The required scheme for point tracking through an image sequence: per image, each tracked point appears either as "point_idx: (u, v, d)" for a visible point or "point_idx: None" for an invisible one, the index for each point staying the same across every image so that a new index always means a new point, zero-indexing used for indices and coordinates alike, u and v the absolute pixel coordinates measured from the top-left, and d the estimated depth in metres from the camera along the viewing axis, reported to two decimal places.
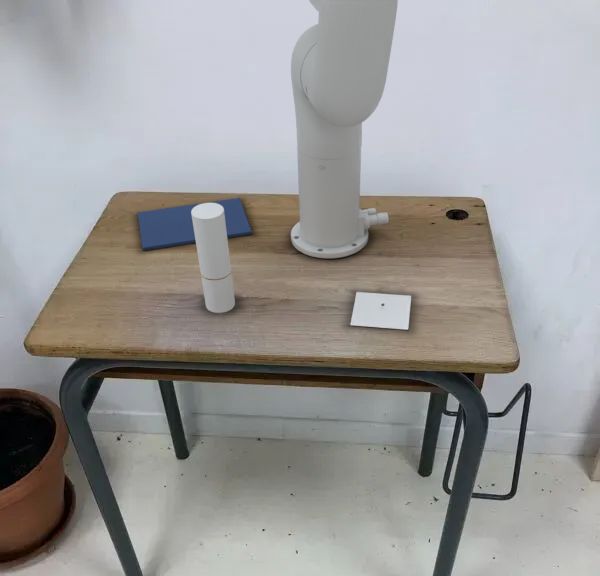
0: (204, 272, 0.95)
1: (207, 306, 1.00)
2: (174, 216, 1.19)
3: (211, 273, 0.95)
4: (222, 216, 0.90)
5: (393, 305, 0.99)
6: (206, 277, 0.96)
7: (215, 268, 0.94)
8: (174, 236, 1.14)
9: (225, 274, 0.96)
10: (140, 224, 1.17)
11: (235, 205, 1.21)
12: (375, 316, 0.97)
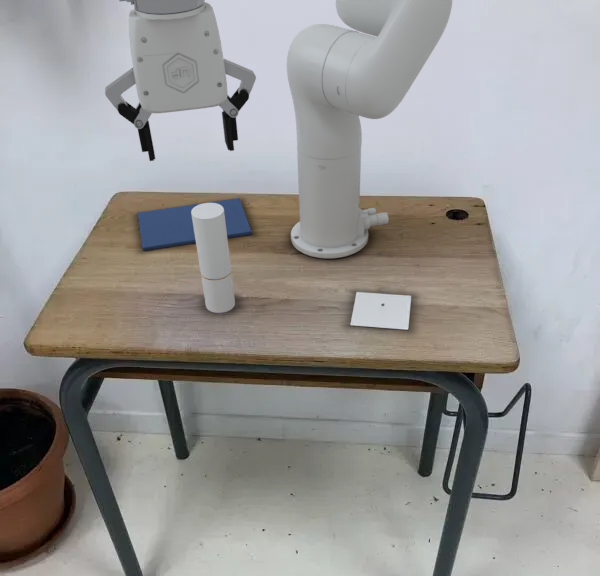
0: (204, 272, 0.95)
1: (207, 306, 1.00)
2: (174, 216, 1.19)
3: (211, 273, 0.95)
4: (222, 216, 0.90)
5: (393, 305, 0.99)
6: (206, 277, 0.96)
7: (215, 268, 0.94)
8: (174, 236, 1.14)
9: (225, 274, 0.96)
10: (140, 224, 1.17)
11: (235, 205, 1.21)
12: (375, 316, 0.97)
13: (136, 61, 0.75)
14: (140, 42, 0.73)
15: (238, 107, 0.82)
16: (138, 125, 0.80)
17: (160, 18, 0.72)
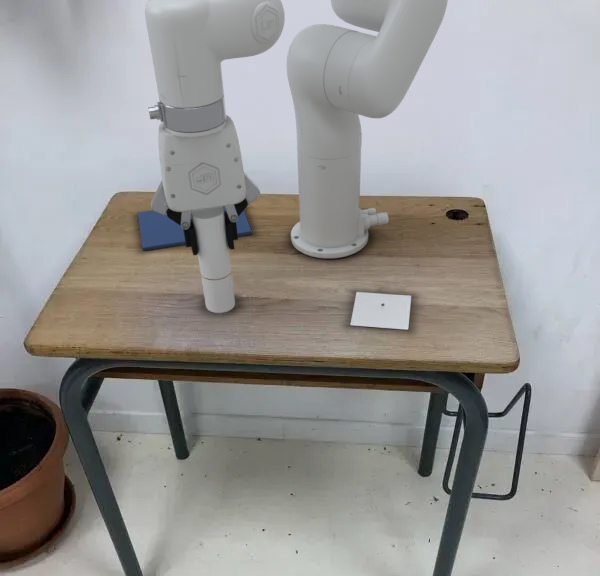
0: (204, 272, 0.95)
1: (207, 306, 1.00)
2: None
3: (211, 273, 0.95)
4: (222, 216, 0.90)
5: (393, 305, 0.99)
6: (206, 277, 0.96)
7: (215, 268, 0.94)
8: (174, 236, 1.14)
9: (225, 274, 0.96)
10: (140, 224, 1.17)
11: None
12: (375, 316, 0.97)
13: (165, 170, 0.83)
14: (169, 154, 0.82)
15: (237, 213, 0.91)
16: (185, 226, 0.90)
17: (187, 136, 0.80)
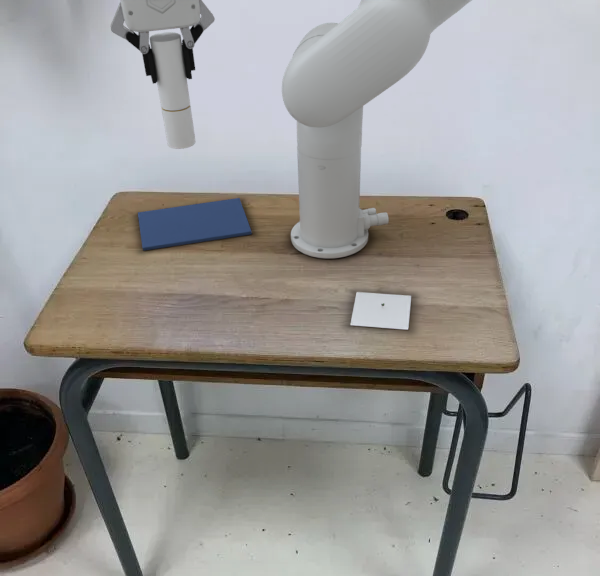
0: (164, 103, 1.00)
1: (168, 143, 1.05)
2: (174, 216, 1.19)
3: (170, 104, 1.00)
4: (179, 42, 0.96)
5: (393, 305, 0.99)
6: (166, 109, 1.01)
7: (174, 98, 0.99)
8: (174, 236, 1.14)
9: (184, 106, 1.01)
10: (140, 224, 1.17)
11: (235, 205, 1.21)
12: (375, 316, 0.97)
13: None
14: None
15: (194, 40, 0.96)
16: (144, 51, 0.95)
17: None
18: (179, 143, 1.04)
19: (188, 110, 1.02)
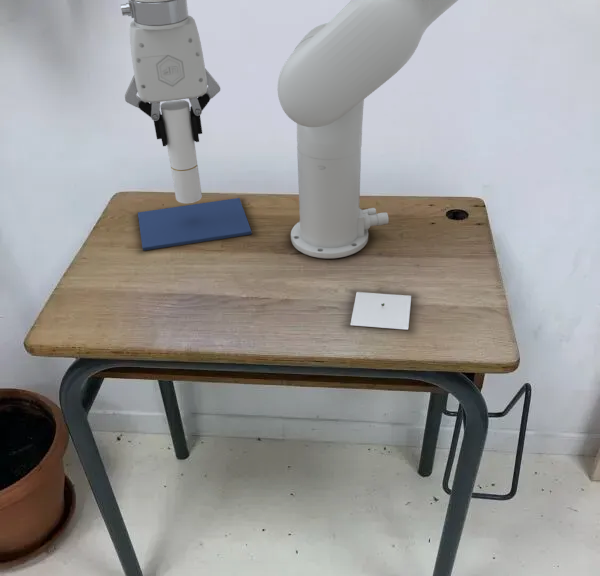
0: (173, 163, 1.09)
1: (177, 198, 1.13)
2: (174, 216, 1.19)
3: (179, 164, 1.08)
4: (187, 109, 1.04)
5: (393, 305, 0.99)
6: (175, 168, 1.09)
7: (183, 159, 1.08)
8: (174, 236, 1.14)
9: (191, 165, 1.09)
10: (140, 224, 1.17)
11: (235, 205, 1.21)
12: (375, 316, 0.97)
13: (135, 61, 0.96)
14: (139, 47, 0.95)
15: (201, 107, 1.04)
16: (155, 118, 1.03)
17: (154, 28, 0.93)
18: (187, 198, 1.12)
19: (195, 169, 1.10)
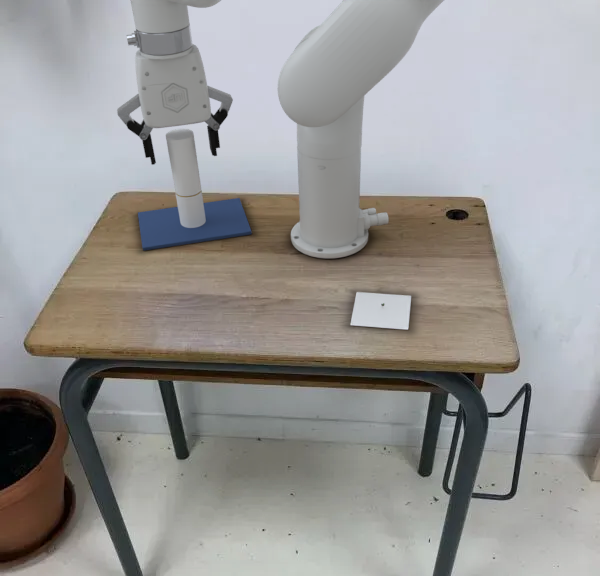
0: (178, 190, 1.12)
1: (181, 222, 1.16)
2: (174, 216, 1.19)
3: (184, 190, 1.11)
4: (192, 139, 1.07)
5: (393, 305, 0.99)
6: (179, 195, 1.12)
7: (187, 185, 1.11)
8: (174, 236, 1.14)
9: (196, 192, 1.12)
10: (140, 224, 1.17)
11: (235, 205, 1.21)
12: (375, 316, 0.97)
13: (141, 89, 0.99)
14: (144, 75, 0.98)
15: (219, 122, 1.06)
16: (142, 137, 1.05)
17: (159, 58, 0.96)
18: (191, 223, 1.15)
19: (199, 195, 1.13)
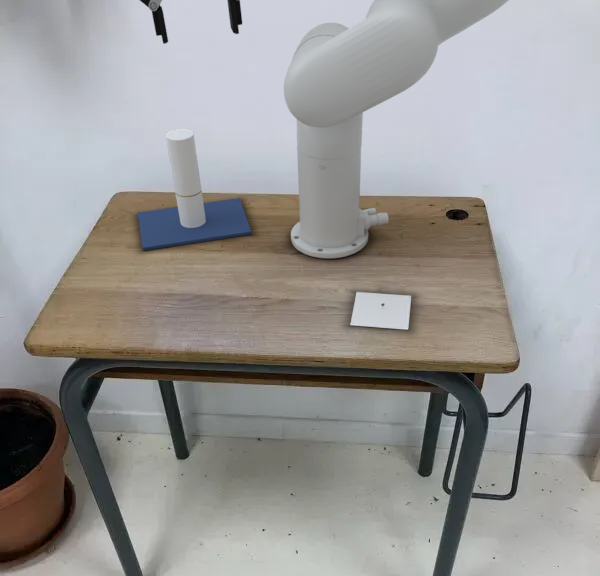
0: (178, 190, 1.12)
1: (181, 222, 1.16)
2: (174, 216, 1.19)
3: (183, 190, 1.11)
4: (192, 139, 1.07)
5: (393, 305, 0.99)
6: (179, 195, 1.12)
7: (187, 185, 1.11)
8: (174, 236, 1.14)
9: (196, 192, 1.12)
10: (140, 224, 1.17)
11: (235, 205, 1.21)
12: (375, 316, 0.97)
13: None
14: None
15: None
16: (152, 7, 0.90)
17: None
18: (191, 223, 1.15)
19: (199, 195, 1.13)
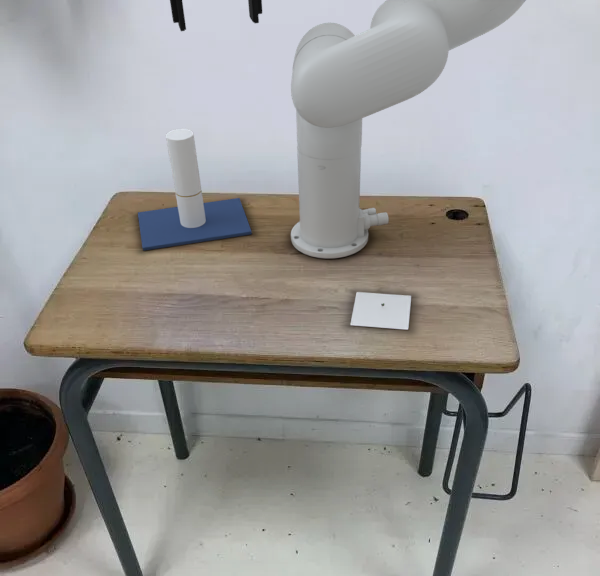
0: (178, 190, 1.12)
1: (181, 222, 1.16)
2: (174, 216, 1.19)
3: (183, 190, 1.11)
4: (192, 139, 1.07)
5: (393, 305, 0.99)
6: (179, 195, 1.12)
7: (187, 185, 1.11)
8: (174, 236, 1.14)
9: (196, 192, 1.12)
10: (140, 224, 1.17)
11: (235, 205, 1.21)
12: (375, 316, 0.97)
13: None
14: None
15: None
16: None
17: None
18: (191, 223, 1.15)
19: (199, 195, 1.13)
